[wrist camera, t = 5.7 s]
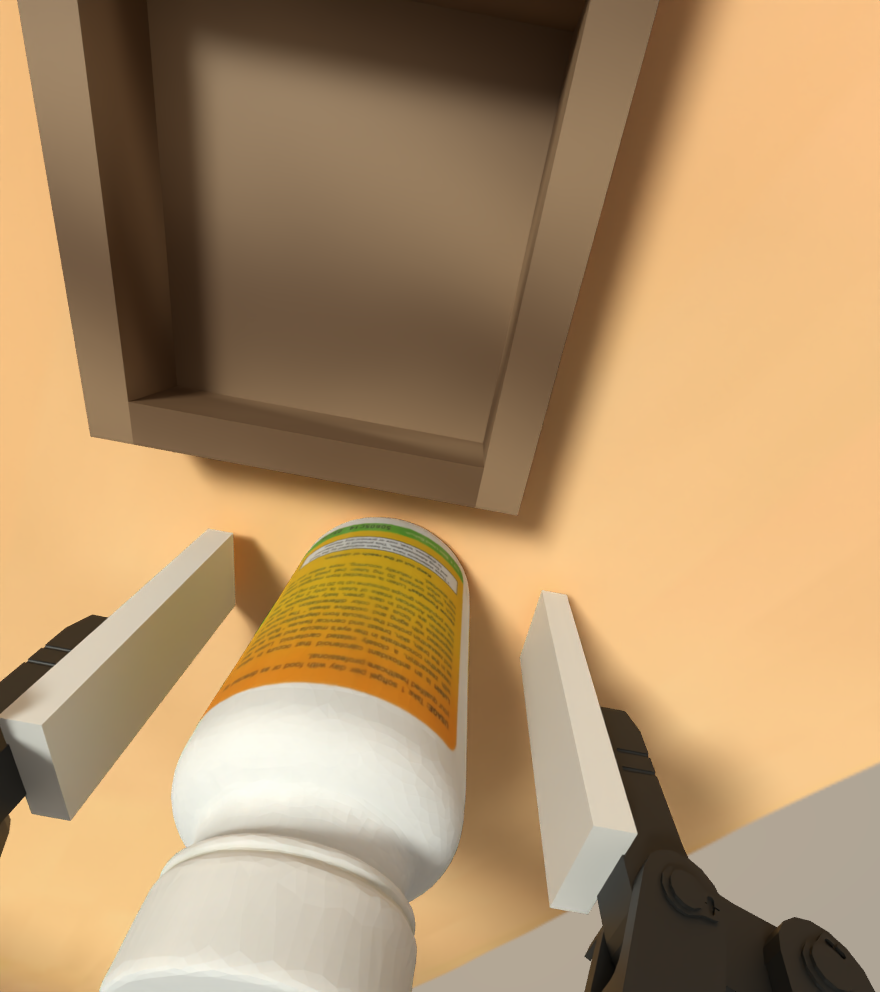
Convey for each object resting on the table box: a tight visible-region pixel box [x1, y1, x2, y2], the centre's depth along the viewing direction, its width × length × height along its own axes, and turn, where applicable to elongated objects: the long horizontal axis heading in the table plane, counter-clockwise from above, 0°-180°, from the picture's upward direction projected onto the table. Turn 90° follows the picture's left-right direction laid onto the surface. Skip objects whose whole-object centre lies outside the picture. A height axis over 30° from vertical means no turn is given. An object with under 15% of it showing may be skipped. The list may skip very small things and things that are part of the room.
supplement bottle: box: [99, 517, 470, 992], centre depth 10 cm, size 5×5×10 cm
